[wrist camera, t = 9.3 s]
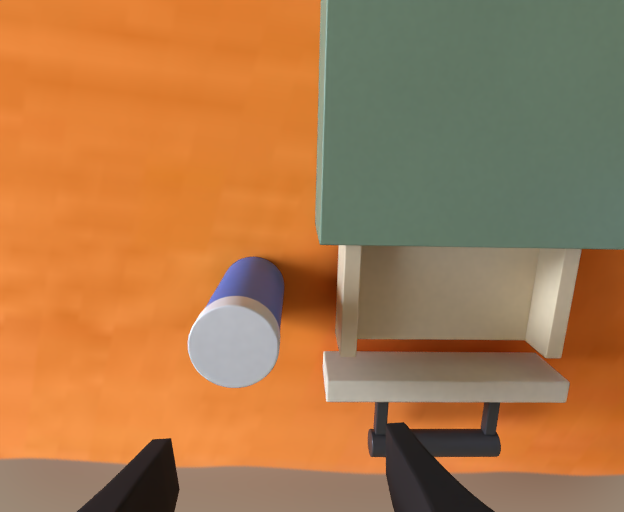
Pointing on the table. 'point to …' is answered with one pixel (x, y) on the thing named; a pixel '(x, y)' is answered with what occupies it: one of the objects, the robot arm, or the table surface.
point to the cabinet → (471, 123)
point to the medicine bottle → (240, 325)
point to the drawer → (450, 333)
